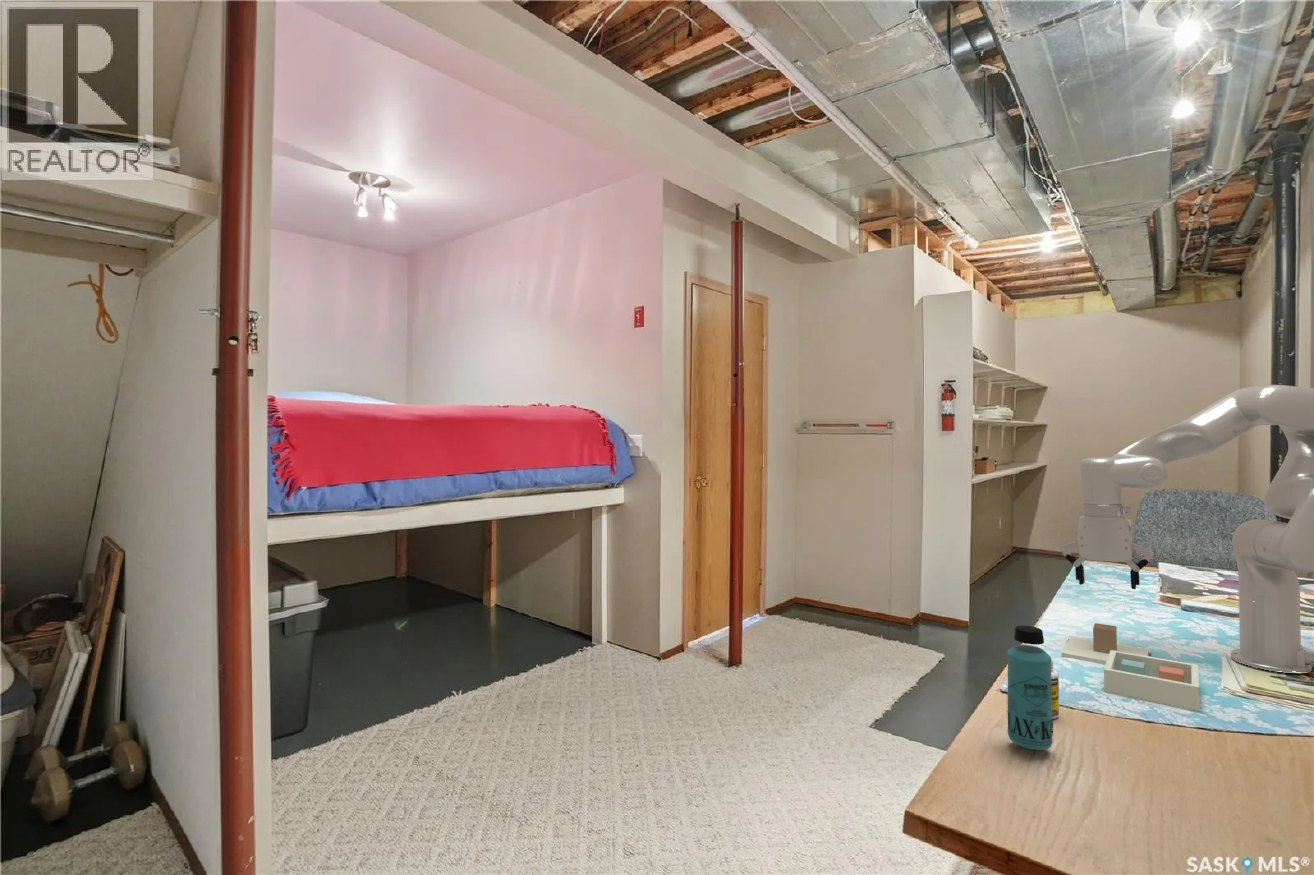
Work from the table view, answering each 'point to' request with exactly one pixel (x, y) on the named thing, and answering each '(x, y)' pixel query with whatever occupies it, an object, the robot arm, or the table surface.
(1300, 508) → the robot arm
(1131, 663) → the teal block
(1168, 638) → the table surface
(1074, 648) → the lid
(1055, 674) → the supplement bottle
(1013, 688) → the beverage bottle
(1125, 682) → the box
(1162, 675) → the red block
